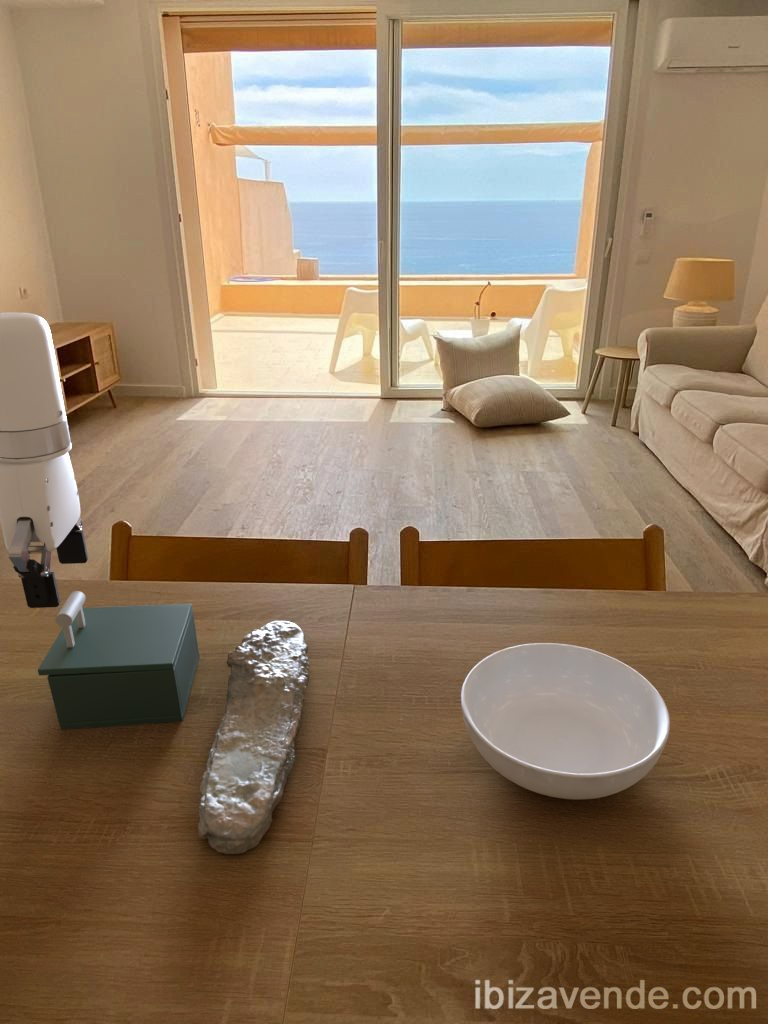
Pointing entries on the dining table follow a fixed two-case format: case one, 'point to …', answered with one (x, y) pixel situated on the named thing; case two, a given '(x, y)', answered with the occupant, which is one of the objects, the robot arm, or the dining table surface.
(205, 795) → the foil wrapped baguette
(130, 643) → the bin lid
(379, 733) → the dining table surface
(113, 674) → the green bin
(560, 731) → the serving bowl
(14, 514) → the robot arm
